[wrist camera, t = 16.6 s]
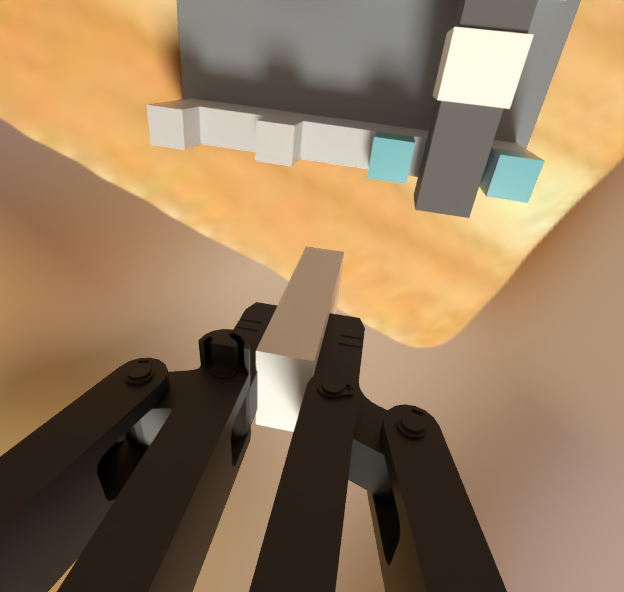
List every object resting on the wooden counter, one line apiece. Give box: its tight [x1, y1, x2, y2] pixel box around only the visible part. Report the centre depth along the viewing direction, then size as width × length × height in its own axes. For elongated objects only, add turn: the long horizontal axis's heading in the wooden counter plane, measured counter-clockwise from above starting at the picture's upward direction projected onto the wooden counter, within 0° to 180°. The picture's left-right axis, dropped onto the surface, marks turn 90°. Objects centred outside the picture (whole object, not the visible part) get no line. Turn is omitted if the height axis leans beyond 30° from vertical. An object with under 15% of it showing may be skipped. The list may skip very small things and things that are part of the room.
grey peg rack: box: [147, 0, 581, 203], centre depth 30 cm, size 18×32×9 cm, turn 84°
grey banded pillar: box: [414, 0, 538, 218], centre depth 26 cm, size 19×5×5 cm, turn 174°
